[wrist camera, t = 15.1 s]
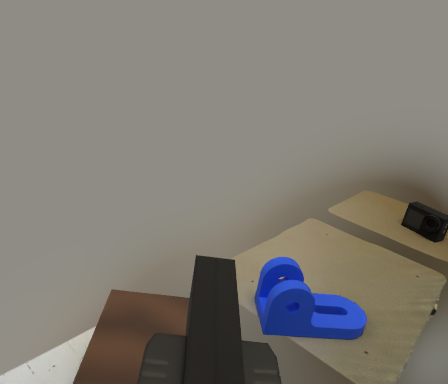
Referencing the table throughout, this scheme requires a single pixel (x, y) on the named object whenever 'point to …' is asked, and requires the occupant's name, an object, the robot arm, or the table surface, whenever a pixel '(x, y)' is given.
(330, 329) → the bracket
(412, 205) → the digital camera
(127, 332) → the cabinet
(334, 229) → the table surface
